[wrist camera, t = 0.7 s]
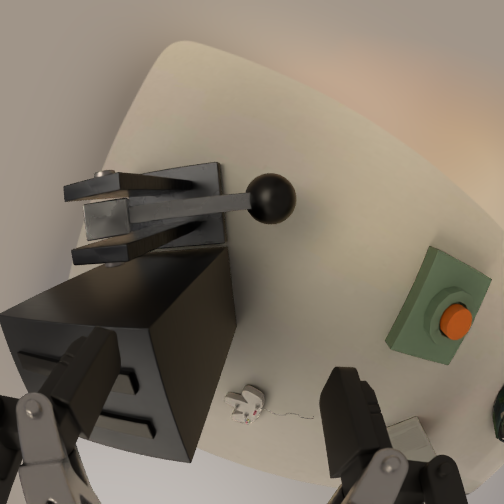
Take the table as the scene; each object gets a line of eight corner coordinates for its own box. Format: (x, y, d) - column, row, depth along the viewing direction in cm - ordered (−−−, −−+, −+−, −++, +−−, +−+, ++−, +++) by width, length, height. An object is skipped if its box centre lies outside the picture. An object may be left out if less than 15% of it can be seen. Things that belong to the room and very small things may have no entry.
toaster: (227, 246, 30) (145, 332, 11) (236, 326, 31) (190, 467, 12) (125, 254, 31) (-7, 316, 12) (140, 326, 33) (42, 426, 14)
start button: (449, 299, 25) (457, 305, 23) (469, 308, 25) (477, 314, 23) (434, 329, 26) (441, 336, 24) (454, 336, 26) (461, 343, 24)
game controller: (225, 381, 33) (221, 394, 30) (319, 384, 32) (321, 397, 29) (226, 413, 34) (223, 426, 31) (313, 416, 33) (315, 429, 31)
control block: (429, 245, 27) (447, 253, 24) (482, 274, 27) (500, 283, 23) (384, 340, 30) (395, 357, 26) (441, 357, 30) (454, 372, 26)
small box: (415, 444, 33) (438, 500, 20) (379, 457, 34) (396, 517, 21) (417, 414, 32) (447, 476, 19) (378, 429, 33) (399, 496, 20)
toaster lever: (280, 174, 22) (303, 169, 19) (284, 220, 23) (307, 223, 19) (91, 195, 17) (78, 192, 14) (97, 246, 18) (86, 254, 15)
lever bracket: (219, 162, 28) (162, 135, 14) (227, 241, 29) (178, 286, 15) (132, 177, 29) (35, 172, 15) (140, 248, 31) (50, 288, 16)
